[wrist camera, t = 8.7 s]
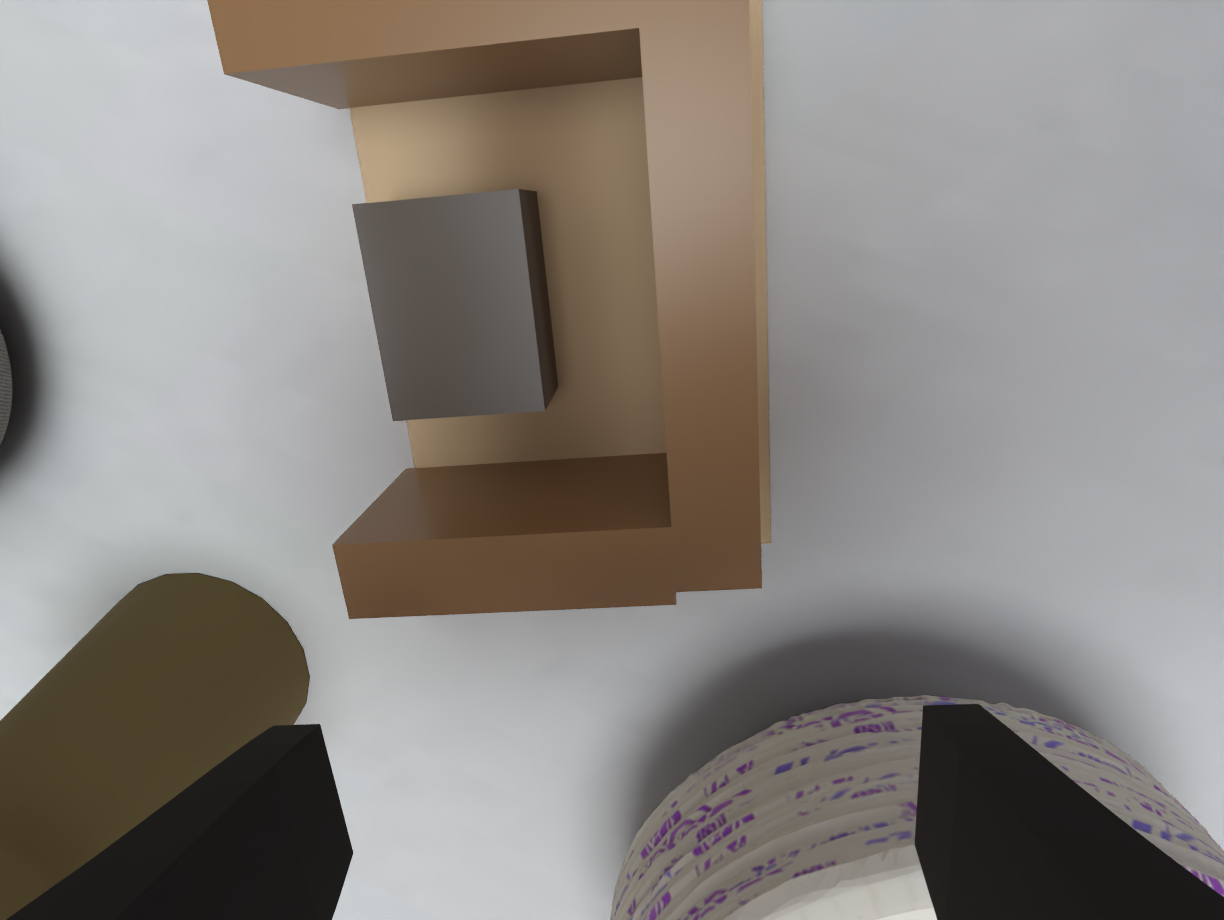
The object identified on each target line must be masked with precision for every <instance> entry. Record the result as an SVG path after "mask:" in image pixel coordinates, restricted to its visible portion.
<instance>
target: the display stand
mask: <svg viewBox="0 0 1224 920" xmlns="http://www.w3.org/2000/svg"><path fill="white" fill-rule="evenodd" d="M749 10H750V57H751V103H752V150H753V196H754V243H755V289H756V336H757V382H758V429H759V475H760V522H761V544H763V543H771V508H770V448H769V388H768V328H767V268H766V207H765V147H764V87H763V27H762V0H749ZM349 109H350V114H351V120H352V125H353V131H354V136H355V142H356V147H357V153H358V158H359V164H360V169H361V175H362V180H363V186H364V191H365V197H366V202H367V203H363V204H353V205H352V206H353V212H354V217H355V222H356V227H357V233H358V238H359V243H360V249H361V254H362V259H363V265H364V270H365V275H366V280H367V286H368V291H369V296H370V302H371V307H372V312H373V318H374V323H375V328H376V333H377V339H378V344H379V349H380V355H381V360H382V365H383V371H384V376H385V381H386V386H387V392H388V397H389V402H390V408H391V413H392V418H393V421H403V420H406V421H407V427H408V432H409V438H410V443H411V449H412V454H413V460H414V465H415V468H426V467H442V466H458V465H475V464H491V463H507V462H523V461H540V460H556V459H572V458H589V457H605V456H621V455H637V454H654V453H667V452H666V436H665V421H664V405H663V390H662V374H661V358H660V343H659V327H658V312H657V296H656V281H655V265H654V250H653V234H652V219H651V203H650V188H649V172H648V157H647V141H646V126H645V110H644V95H643V79H642V77H639V78H629V79H620V80H610V81H601V82H591V83H582V84H572V85H563V86H553V87H544V88H534V89H525V90H515V91H506V92H496V93H487V94H477V95H468V96H458V97H449V98H439V99H430V100H420V101H411V102H401V103H392V104H382V105H373V106H363V107H354V108H349Z"/></svg>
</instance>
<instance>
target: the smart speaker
mask: <svg viewBox="0 0 1224 920" xmlns="http://www.w3.org/2000/svg"><path fill="white" fill-rule="evenodd" d="M11 405H12V373H11V366H10V360H9V355H8V351H7V347H6V343H5V340H4V337H3V334H2V331H1V328H0V444H1V442H2V440H3V438H4V435H5V432H6V429H7V426H8V422H9V418H10V413H11Z"/></svg>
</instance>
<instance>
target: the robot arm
mask: <svg viewBox="0 0 1224 920" xmlns="http://www.w3.org/2000/svg"><path fill="white" fill-rule="evenodd" d="M915 848H916V851H917V855H918V858H919V861H920V865H921V868H922V871H923V875H924V878H925V881H926V885H927V888H928V892H929V895H930V898H931V901H932V904H933V908H934V911H935V914H936V917H937V920H1224V897H1223V896H1222V895H1220V894H1219V893H1218V892H1216V891H1215V890H1213V889H1212V888H1211V887H1209V886H1208V885H1207V884H1205V883H1204V882H1203V881H1201V880H1200V879H1199V878H1197V877H1196V876H1195V875H1193V874H1192V873H1191V872H1189V871H1188V870H1187V869H1185V868H1184V867H1183V866H1181V865H1180V864H1179V863H1177V862H1176V861H1175V860H1173V859H1172V858H1171V857H1169V856H1168V855H1167V854H1166V853H1164V852H1163V851H1162V850H1160V849H1159V848H1158V847H1156V846H1155V845H1154V844H1153V843H1151V842H1150V841H1149V840H1147V839H1146V838H1145V837H1143V836H1142V835H1141V834H1140V833H1138V832H1137V831H1136V830H1135V829H1133V828H1132V827H1131V826H1129V825H1128V824H1127V823H1126V822H1124V821H1123V820H1122V819H1120V818H1119V817H1118V816H1117V815H1115V814H1114V813H1113V812H1112V811H1110V810H1109V809H1108V808H1107V807H1105V806H1104V805H1103V804H1102V803H1100V802H1099V801H1098V800H1097V799H1095V798H1094V797H1093V796H1092V795H1090V794H1089V793H1088V792H1087V791H1085V790H1084V789H1083V788H1082V787H1080V786H1079V785H1078V784H1077V783H1075V782H1074V781H1073V780H1072V779H1071V778H1069V777H1068V776H1067V775H1066V774H1064V773H1063V772H1062V771H1061V770H1060V769H1058V768H1057V767H1056V766H1055V765H1053V764H1052V763H1051V762H1050V761H1048V760H1047V759H1046V758H1045V757H1044V756H1042V755H1041V754H1040V753H1039V752H1038V751H1036V750H1035V749H1034V748H1033V747H1031V746H1030V745H1029V744H1028V743H1027V742H1025V741H1024V740H1023V739H1022V738H1020V737H1019V736H1018V735H1017V734H1016V733H1014V732H1013V731H1012V730H1011V729H1010V728H1008V727H1007V726H1006V725H1005V724H1003V723H1002V722H1001V721H1000V720H998V719H997V718H996V717H995V716H993V715H992V714H991V713H990V712H988V711H987V710H986V709H985V708H983V707H982V706H981V705H979V704H952V705H923V714H922V730H921V747H920V763H919V779H918V795H917V811H916V827H915ZM352 855H353V850H352V846H351V842H350V839H349V835H348V831H347V827H346V823H345V819H344V815H343V811H342V808H341V804H340V800H339V796H338V792H337V788H336V784H335V780H334V777H333V773H332V769H331V765H330V761H329V757H328V753H327V749H326V746H325V742H324V738H323V734H322V730H321V726H320V724H310V725H277V726H272V727H270V728H269V729H267V730H266V731H264V732H263V733H261V734H260V735H258V736H257V737H255V738H254V739H252V740H251V741H249V742H248V743H247V744H245V745H244V746H242V747H241V748H240V749H238V750H237V751H235V752H234V753H233V754H231V755H230V756H229V757H227V758H226V759H225V760H223V761H222V762H220V763H219V764H218V765H216V766H215V767H214V768H212V769H211V770H210V771H208V772H207V773H206V774H204V775H203V776H202V777H200V778H199V779H198V780H196V781H195V782H194V783H192V784H191V785H190V786H188V787H187V788H186V789H185V790H183V791H182V792H181V793H179V794H178V795H177V796H175V797H174V798H173V799H171V800H170V801H169V802H167V803H166V804H165V805H163V806H162V807H161V808H159V809H158V810H157V811H155V812H154V813H153V814H151V815H150V816H149V817H147V818H146V819H145V820H143V821H142V822H141V823H139V824H138V825H137V826H135V827H134V828H132V829H131V830H130V831H128V832H127V833H126V834H124V835H123V836H122V837H120V838H119V839H118V840H116V841H115V842H114V843H112V844H111V845H110V846H108V847H107V848H106V849H104V850H103V851H102V852H100V853H99V854H98V855H96V856H95V857H94V858H92V859H91V860H90V861H88V862H87V863H85V864H84V865H83V866H81V867H80V868H78V869H77V870H75V871H74V872H73V873H71V874H70V875H68V876H67V877H66V878H64V879H63V880H61V881H60V882H58V883H57V884H56V885H54V886H53V887H51V888H50V889H49V890H47V891H46V892H44V893H43V894H41V895H40V896H39V897H37V898H36V899H34V900H33V901H32V902H30V903H29V904H27V905H26V906H24V907H23V908H22V909H20V910H19V911H17V912H16V913H15V914H13V915H12V916H10V917H9V918H7V919H6V920H332V918H333V915H334V912H335V909H336V906H337V903H338V900H339V897H340V894H341V891H342V887H343V884H344V881H345V878H346V874H347V871H348V868H349V865H350V862H351V858H352Z"/></svg>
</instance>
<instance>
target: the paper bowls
mask: <svg viewBox="0 0 1224 920" xmlns="http://www.w3.org/2000/svg"><path fill="white" fill-rule="evenodd" d="M952 704H979V705H981V706H982V707H983V708H985V709H986V710H987V711H988V712H990V713H991V714H992V715H993V716H995V717H996V718H997V719H998V720H1000V721H1001V722H1002V723H1003V724H1005V725H1006V726H1007V727H1008V728H1010V729H1011V730H1012V731H1013V732H1014V733H1016V734H1017V735H1018V736H1019V737H1020V738H1022V739H1023V740H1024V741H1025V742H1027V743H1028V744H1029V745H1030V746H1031V747H1033V748H1034V749H1035V750H1036V751H1038V752H1039V753H1040V754H1041V755H1042V756H1044V757H1045V758H1046V759H1047V760H1048V761H1050V762H1051V763H1052V764H1053V765H1055V766H1056V767H1057V768H1058V769H1060V770H1061V771H1062V772H1063V773H1064V774H1066V775H1067V776H1068V777H1069V778H1071V779H1072V780H1073V781H1074V782H1075V783H1077V784H1078V785H1079V786H1080V787H1082V788H1083V789H1084V790H1085V791H1087V792H1088V793H1089V794H1090V795H1092V796H1093V797H1094V798H1095V799H1097V800H1098V801H1099V802H1100V803H1102V804H1103V805H1104V806H1105V807H1107V808H1108V809H1109V810H1110V811H1112V812H1113V813H1114V814H1115V815H1117V816H1118V817H1119V818H1120V819H1122V820H1123V821H1124V822H1126V823H1127V824H1128V825H1129V826H1131V827H1132V828H1133V829H1135V830H1136V831H1137V832H1138V833H1140V834H1141V835H1142V836H1143V837H1145V838H1146V839H1147V840H1149V841H1150V842H1151V843H1153V844H1154V845H1155V846H1156V847H1158V848H1159V849H1160V850H1162V851H1163V852H1164V853H1166V854H1167V855H1168V856H1169V857H1171V858H1172V859H1173V860H1175V861H1176V862H1177V863H1179V864H1180V865H1181V866H1183V867H1184V868H1185V869H1187V870H1188V871H1189V872H1191V873H1192V874H1193V875H1195V876H1196V877H1197V878H1199V879H1200V880H1201V881H1203V882H1204V883H1205V884H1207V885H1208V886H1209V887H1211V888H1212V889H1213V890H1215V891H1216V892H1218V893H1219V894H1220V895H1222V896H1223V897H1224V851H1223V850H1222V849H1221V847H1220V846H1219V845H1218V844H1217V843H1216V842H1215V841H1214V840H1213V839H1212V838H1211V836H1210V835H1209V834H1208V832H1207V830H1206V829H1205V828H1204V827H1203V826H1202V825H1201V824H1200V823H1199V822H1198V821H1197V820H1196V819H1195V818H1194V817H1193V816H1192V815H1191V814H1190V812H1188V811H1187V810H1186V809H1185V808H1184V807H1183V805H1182V804H1181V803H1180V802H1179V801H1178V800H1177V799H1176V798H1174V797H1173V796H1172V795H1171V794H1170V793H1169V792H1168V791H1167V790H1166V789H1165V788H1164V787H1163V786H1162V785H1161V783H1159V782H1158V781H1157V780H1156V779H1155V778H1153V776H1152V775H1151V774H1150V773H1149V772H1148V771H1147V770H1146V769H1145V768H1144V767H1143V766H1142V765H1140V764H1139V763H1138V762H1136V761H1135V760H1133V759H1132V758H1130V757H1129V756H1128V755H1127V754H1126V753H1124V752H1123V751H1121V750H1120V749H1118V748H1117V747H1115V746H1114V745H1112V744H1111V743H1110V742H1108V741H1106V740H1104V739H1103V738H1099V737H1097V736H1095V735H1093V734H1091V733H1089V732H1087V731H1085V730H1083V729H1081V728H1079V727H1077V726H1075V725H1073V724H1068V723H1066V722H1064V721H1062V720H1061V719H1059V718H1055V717H1051V716H1047V715H1043V714H1040V713H1038V712H1036V711H1034V710H1030V709H1026V708H1014V707H1012V706H1010V705H1008V704H1006V703H998V704H989V703H987V702H985V701H981V700H972V699H961V698H955V697H941V696H930V695H921V696H916V697H891V698H889V699H865V700H862V701H860V702H855V703H849V704H842V703H840V704H837V705H833V706H830V707H828V708H825V709H819V710H815V711H813V712H809V713H803V714H801V715H799V716H798V717H796V716H792V717H791V718H789V720H788V721H780V722H777V723H774V724H773V725H772V726H771V727H769V728H767V729H765V730H763V731H761V732H759V733H757V734H755V735H753V736H752V737H750V738H748V739H746V740H745V741H743V742H740V743H738V744H735V745H733V746H732V747H730V748H728V749H727V750H725V751H723V752H722V753H720V754H719V755H717V756H716V757H715V758H713V759H712V760H711V761H709V762H708V763H706V764H705V765H704V766H703V767H702V768H700V769H699V770H697V771H696V772H694V773H692V774H690V775H689V776H688V777H687V779H686V780H685V781H683V782H682V783H681V784H679V785H678V786H677V788H676V789H674V790H673V791H671V792H670V793H669V794H668V795H667V796H666V798H665V799H664V800H663V801H662V802H661V803H660V805H659V806H658V807H657V808H656V809H655V810H654V812H653V813H652V814H651V815H650V816H649V818H648V819H647V820H646V821H645V823H644V824H643V825H642V827H641V828H640V830H639V831H638V833H637V834H636V836H635V838H634V840H633V842H632V844H631V846H630V848H629V850H628V852H627V854H626V857H625V860H624V863H623V866H622V868H621V871H620V874H619V876H618V880H617V884H616V887H615V892H614V898H613V903H612V912H611V920H937V917H936V914H935V911H934V908H933V904H932V901H931V898H930V895H929V892H928V888H927V885H926V881H925V878H924V875H923V871H922V868H921V865H920V861H919V858H918V855H917V851H916V848H915V827H916V811H917V795H918V779H919V763H920V747H921V730H922V714H923V705H952Z"/></svg>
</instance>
